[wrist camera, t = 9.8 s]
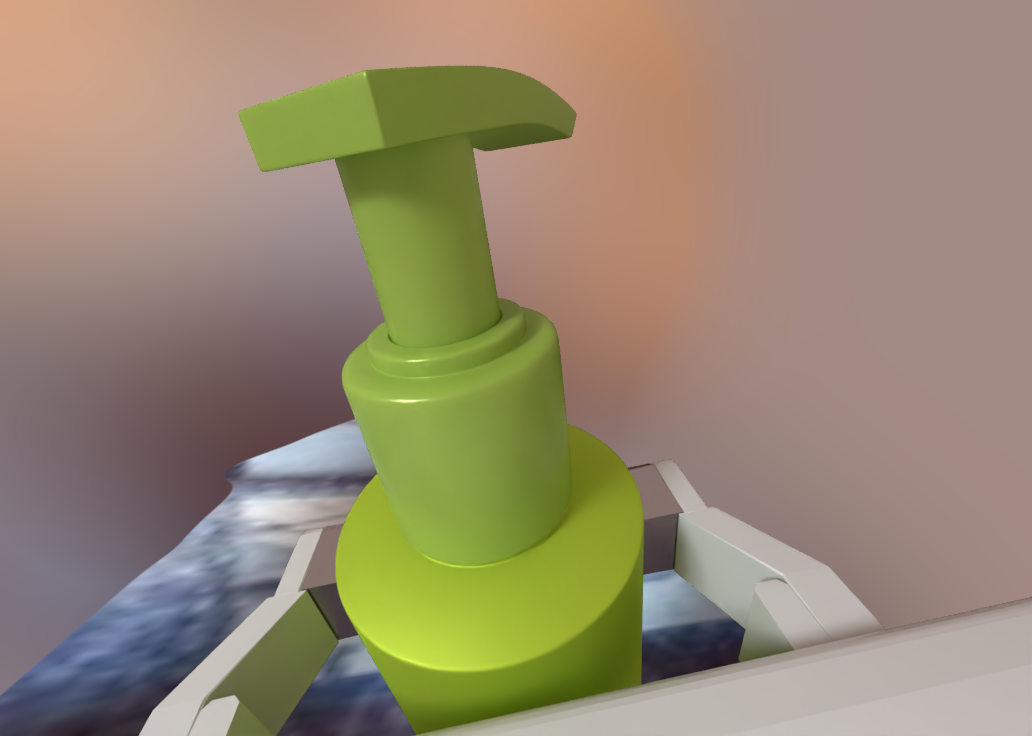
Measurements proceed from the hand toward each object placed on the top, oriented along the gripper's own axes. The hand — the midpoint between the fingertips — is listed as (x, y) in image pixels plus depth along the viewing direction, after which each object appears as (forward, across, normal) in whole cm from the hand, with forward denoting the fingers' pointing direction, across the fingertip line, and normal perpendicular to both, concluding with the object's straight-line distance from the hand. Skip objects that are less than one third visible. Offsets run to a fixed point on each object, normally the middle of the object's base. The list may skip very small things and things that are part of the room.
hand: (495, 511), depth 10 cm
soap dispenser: (-1, 0, +12) cm, 12 cm away
